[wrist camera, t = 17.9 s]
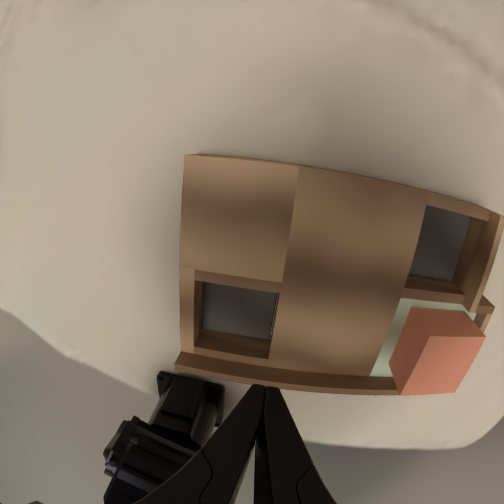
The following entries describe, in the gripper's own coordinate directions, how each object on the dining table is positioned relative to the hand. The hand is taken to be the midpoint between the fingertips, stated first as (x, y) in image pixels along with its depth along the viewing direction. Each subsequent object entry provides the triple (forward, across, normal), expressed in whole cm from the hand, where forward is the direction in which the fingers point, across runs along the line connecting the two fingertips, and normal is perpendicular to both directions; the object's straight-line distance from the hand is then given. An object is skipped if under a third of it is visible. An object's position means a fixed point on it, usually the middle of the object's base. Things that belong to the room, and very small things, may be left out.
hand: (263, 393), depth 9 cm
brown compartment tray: (+12, -5, 0) cm, 13 cm away
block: (+10, -12, +3) cm, 16 cm away
